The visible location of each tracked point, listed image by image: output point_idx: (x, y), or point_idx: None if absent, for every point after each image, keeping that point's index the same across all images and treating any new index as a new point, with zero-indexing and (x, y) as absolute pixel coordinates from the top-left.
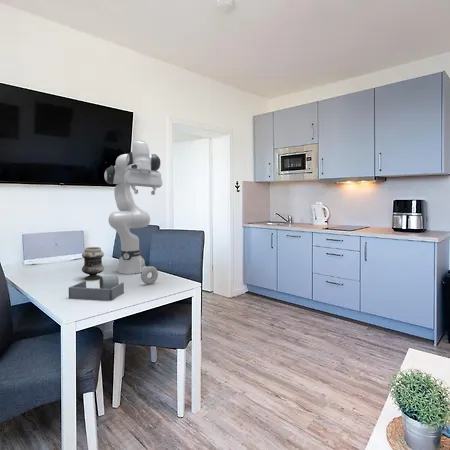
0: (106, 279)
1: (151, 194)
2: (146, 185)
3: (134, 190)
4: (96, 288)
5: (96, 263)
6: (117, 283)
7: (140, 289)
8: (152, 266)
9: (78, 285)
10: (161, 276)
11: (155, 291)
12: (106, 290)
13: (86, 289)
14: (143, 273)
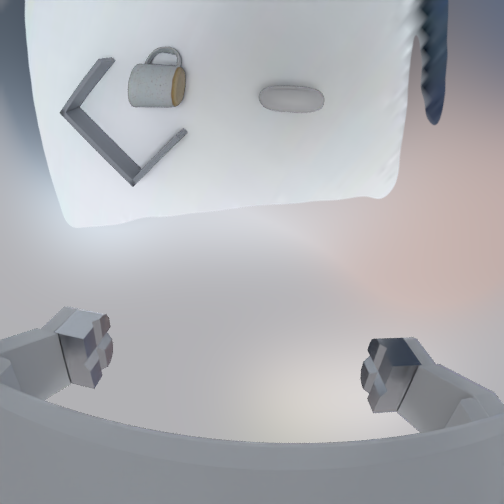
0: (140, 103)
1: (373, 340)
2: (348, 480)
3: (47, 344)
4: (107, 155)
5: None
6: (174, 106)
7: (238, 130)
8: (304, 105)
9: (82, 90)
10: (377, 38)
11: (261, 173)
12: (125, 177)
13: (90, 142)
14: (263, 105)
